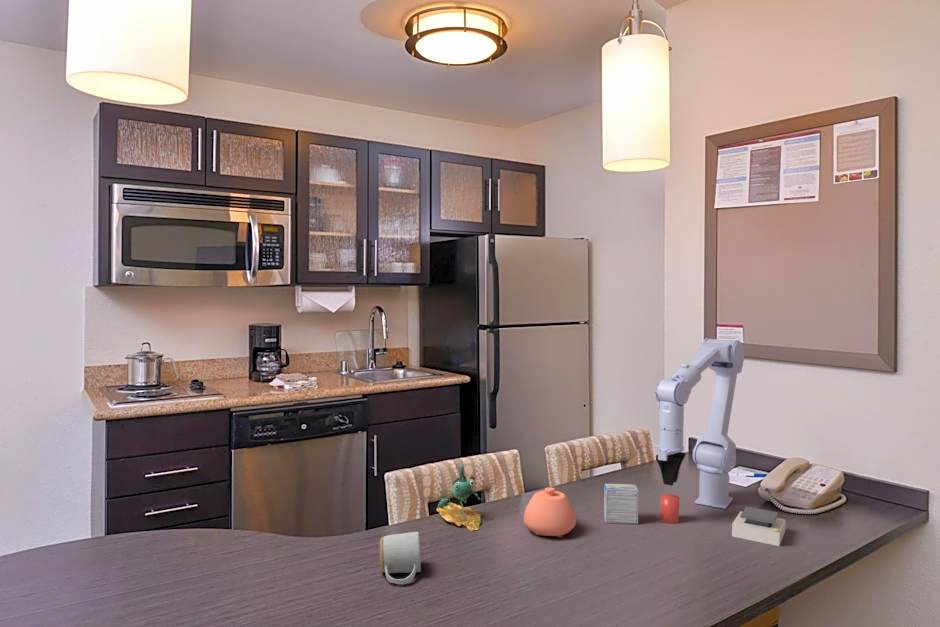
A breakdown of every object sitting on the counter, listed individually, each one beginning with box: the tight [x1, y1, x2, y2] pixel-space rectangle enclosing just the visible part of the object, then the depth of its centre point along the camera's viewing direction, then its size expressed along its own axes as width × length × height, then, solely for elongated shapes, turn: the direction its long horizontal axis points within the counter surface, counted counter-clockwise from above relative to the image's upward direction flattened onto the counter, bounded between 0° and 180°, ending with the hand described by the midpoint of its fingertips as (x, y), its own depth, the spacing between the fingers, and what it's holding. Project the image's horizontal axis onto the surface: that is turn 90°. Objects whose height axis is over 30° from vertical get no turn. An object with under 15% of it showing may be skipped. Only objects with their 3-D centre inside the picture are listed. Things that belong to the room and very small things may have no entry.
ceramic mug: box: [379, 531, 421, 584], centre depth 127 cm, size 11×8×8 cm
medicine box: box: [603, 483, 640, 525], centre depth 157 cm, size 8×4×9 cm, turn 84°
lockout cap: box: [659, 493, 680, 525], centre depth 158 cm, size 4×4×6 cm
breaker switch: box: [740, 506, 779, 528], centre depth 149 cm, size 7×7×4 cm
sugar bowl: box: [523, 486, 577, 538], centre depth 151 cm, size 12×14×10 cm
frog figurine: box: [435, 463, 482, 532], centre depth 157 cm, size 10×18×15 cm, turn 26°
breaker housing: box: [731, 510, 787, 547], centre depth 149 cm, size 10×10×4 cm
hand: (670, 483), depth 157 cm, fingers open, 2 cm apart
